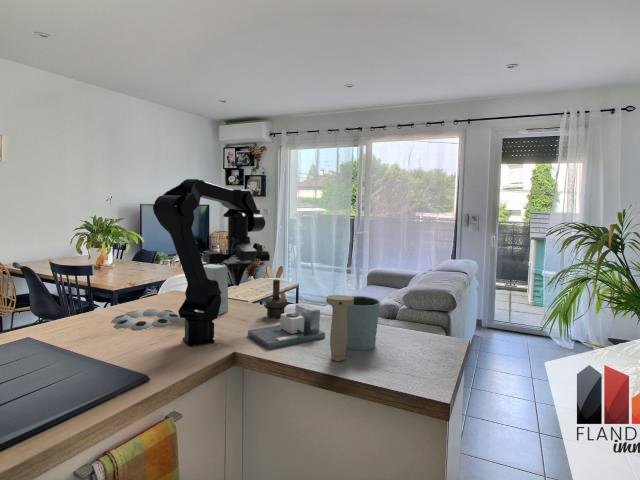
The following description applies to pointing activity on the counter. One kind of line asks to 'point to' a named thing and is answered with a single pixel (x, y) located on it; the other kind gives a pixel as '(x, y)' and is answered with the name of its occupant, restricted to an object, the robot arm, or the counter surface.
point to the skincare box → (219, 283)
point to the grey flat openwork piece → (164, 314)
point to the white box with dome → (292, 323)
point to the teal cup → (362, 323)
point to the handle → (339, 325)
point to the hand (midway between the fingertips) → (236, 285)
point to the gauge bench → (280, 337)
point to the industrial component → (275, 302)
